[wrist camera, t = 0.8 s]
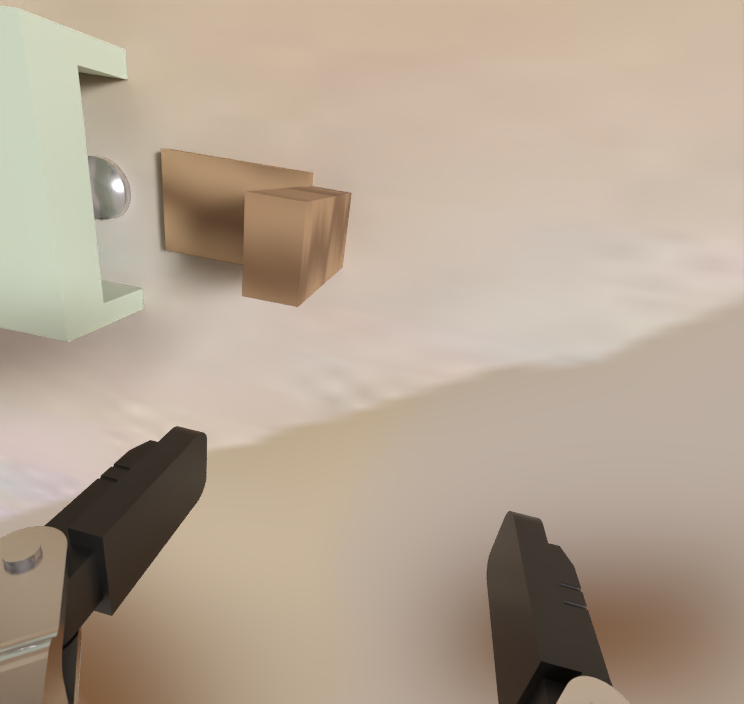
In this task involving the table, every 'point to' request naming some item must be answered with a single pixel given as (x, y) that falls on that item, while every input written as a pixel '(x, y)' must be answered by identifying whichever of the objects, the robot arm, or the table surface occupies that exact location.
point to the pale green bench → (51, 182)
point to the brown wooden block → (255, 222)
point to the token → (108, 188)
